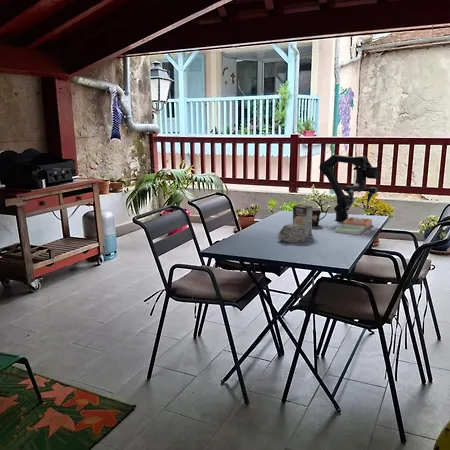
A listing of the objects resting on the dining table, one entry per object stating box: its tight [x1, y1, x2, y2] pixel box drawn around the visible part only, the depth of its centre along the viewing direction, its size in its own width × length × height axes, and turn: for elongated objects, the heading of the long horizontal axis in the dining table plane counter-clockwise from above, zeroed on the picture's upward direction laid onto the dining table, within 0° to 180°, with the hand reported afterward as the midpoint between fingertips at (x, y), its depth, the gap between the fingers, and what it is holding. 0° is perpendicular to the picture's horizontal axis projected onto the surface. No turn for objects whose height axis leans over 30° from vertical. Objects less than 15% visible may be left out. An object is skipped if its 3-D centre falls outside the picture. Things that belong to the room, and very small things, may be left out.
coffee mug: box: [312, 207, 327, 228], centre depth 274 cm, size 12×9×10 cm
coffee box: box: [292, 204, 313, 238], centre depth 253 cm, size 9×6×16 cm
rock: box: [277, 223, 308, 244], centre depth 241 cm, size 16×8×10 cm, turn 61°
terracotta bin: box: [343, 216, 373, 230], centre depth 269 cm, size 13×12×4 cm
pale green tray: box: [334, 223, 366, 235], centre depth 258 cm, size 13×12×2 cm
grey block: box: [353, 217, 363, 223], centre depth 269 cm, size 4×4×4 cm
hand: (360, 203), depth 275 cm, fingers open, 9 cm apart
